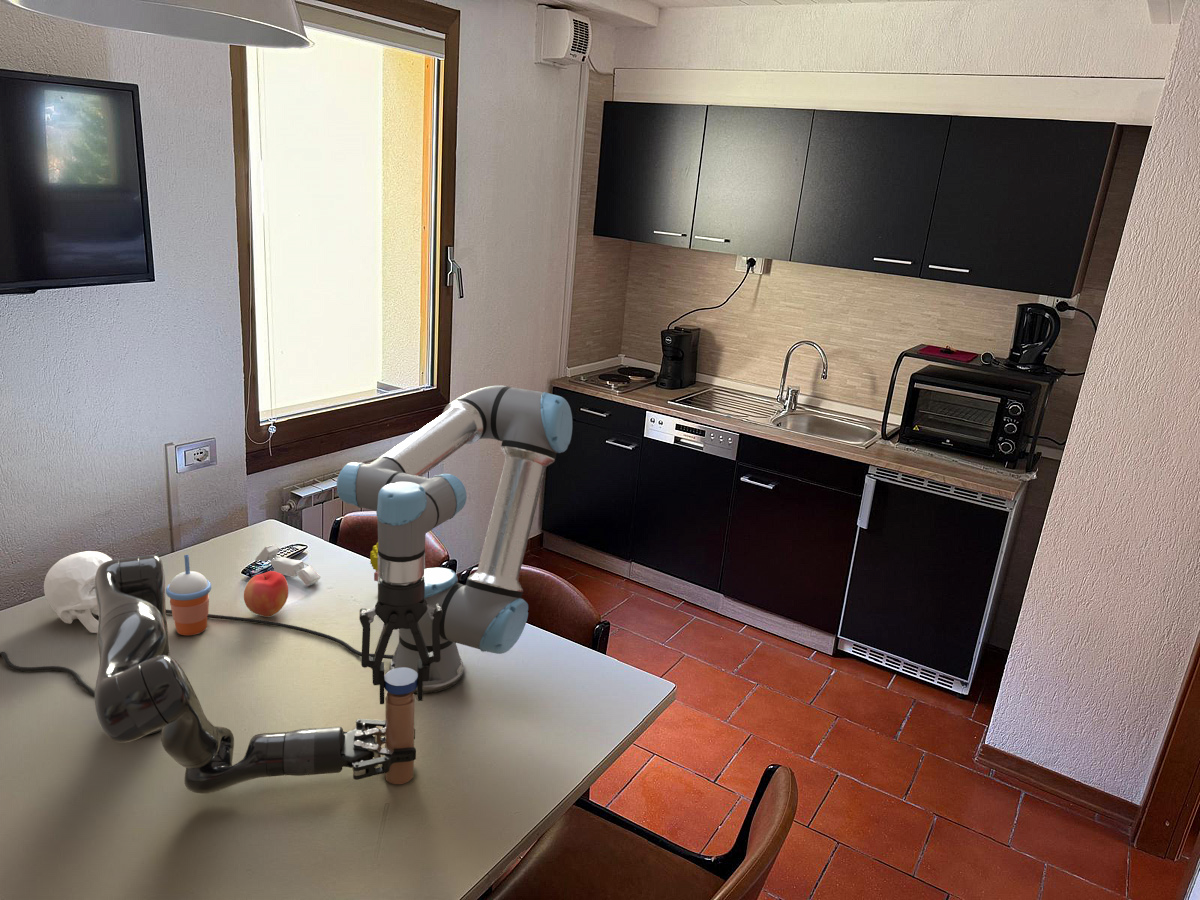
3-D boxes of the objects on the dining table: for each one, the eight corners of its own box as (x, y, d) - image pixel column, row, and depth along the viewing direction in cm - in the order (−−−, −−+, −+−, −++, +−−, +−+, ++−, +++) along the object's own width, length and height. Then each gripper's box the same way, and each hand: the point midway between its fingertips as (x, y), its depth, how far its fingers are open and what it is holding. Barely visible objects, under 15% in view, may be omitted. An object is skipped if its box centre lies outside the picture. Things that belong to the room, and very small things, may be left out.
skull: (111, 644, 183) (106, 576, 179) (31, 622, 189) (25, 556, 185) (159, 618, 196) (155, 554, 192) (82, 599, 202) (77, 536, 197)
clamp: (253, 565, 223) (254, 542, 221) (265, 560, 226) (266, 537, 224) (309, 593, 215) (310, 569, 213) (320, 588, 218) (321, 564, 216)
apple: (273, 600, 207) (272, 562, 204) (297, 613, 202) (296, 575, 199) (237, 614, 200) (234, 575, 197) (261, 628, 194) (259, 588, 191)
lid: (423, 688, 146) (423, 679, 145) (392, 698, 142) (392, 689, 142) (409, 672, 150) (409, 664, 149) (378, 681, 147) (378, 672, 146)
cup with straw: (196, 642, 187) (191, 567, 182) (159, 635, 188) (153, 560, 183) (222, 622, 195) (218, 550, 190) (187, 616, 197) (181, 544, 192)
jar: (416, 781, 150) (417, 696, 145) (387, 786, 148) (388, 700, 143) (410, 763, 154) (412, 680, 149) (383, 768, 153) (383, 684, 147)
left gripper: (309, 759, 138) (417, 751, 142) (316, 707, 152) (414, 701, 156) (310, 798, 141) (416, 788, 145) (317, 743, 154) (414, 736, 158)
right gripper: (456, 563, 146) (453, 681, 153) (342, 568, 141) (345, 689, 148) (461, 583, 139) (457, 706, 146) (341, 589, 134) (343, 715, 141)
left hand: (414, 743), depth 150 cm, fingers closed on jar, 5 cm apart
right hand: (401, 697), depth 147 cm, fingers closed on lid, 6 cm apart
